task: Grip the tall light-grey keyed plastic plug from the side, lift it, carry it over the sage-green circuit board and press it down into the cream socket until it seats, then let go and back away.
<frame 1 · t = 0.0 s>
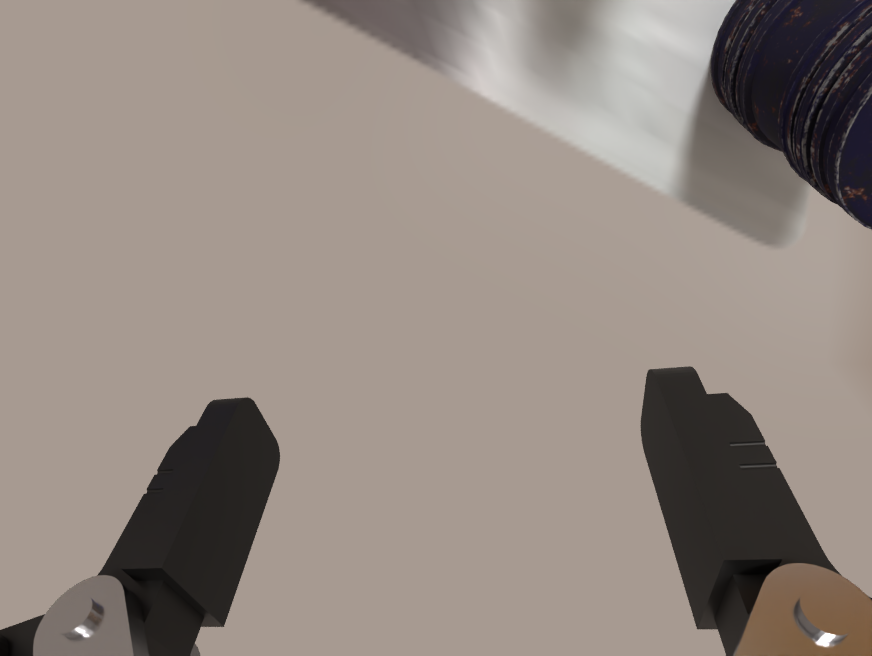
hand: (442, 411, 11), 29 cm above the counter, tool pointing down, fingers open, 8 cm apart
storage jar: (794, 41, 31), on the counter
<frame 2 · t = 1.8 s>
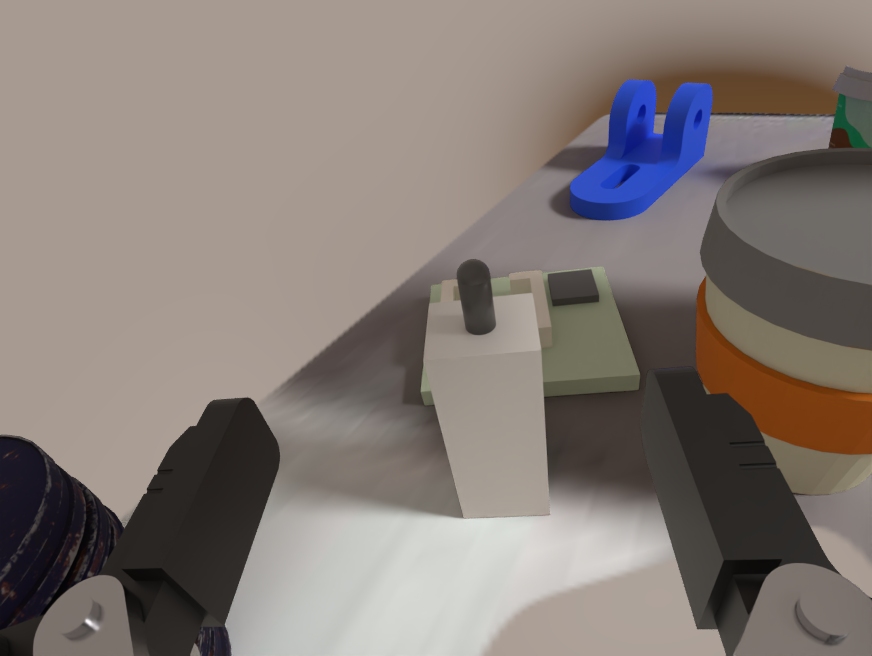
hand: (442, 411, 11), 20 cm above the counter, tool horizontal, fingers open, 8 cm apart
bracket: (631, 185, 58), on the counter
plug: (504, 486, 32), on the counter
board: (521, 337, 42), on the counter
reusable coffee cup: (782, 431, 31), on the counter
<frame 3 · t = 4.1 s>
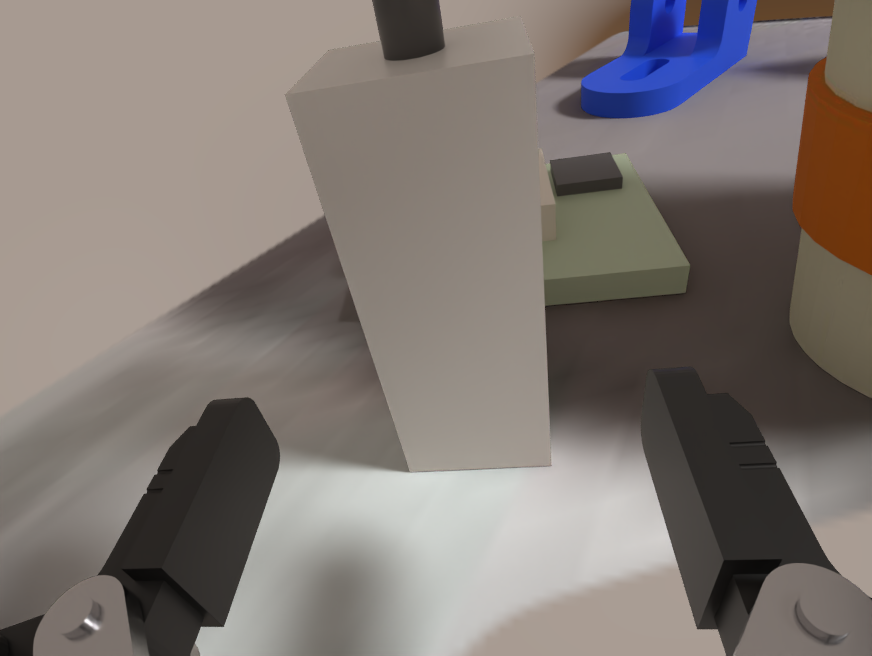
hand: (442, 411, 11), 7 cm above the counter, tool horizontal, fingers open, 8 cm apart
bracket: (657, 87, 47), on the counter
plug: (479, 424, 20), on the counter
board: (513, 239, 30), on the counter
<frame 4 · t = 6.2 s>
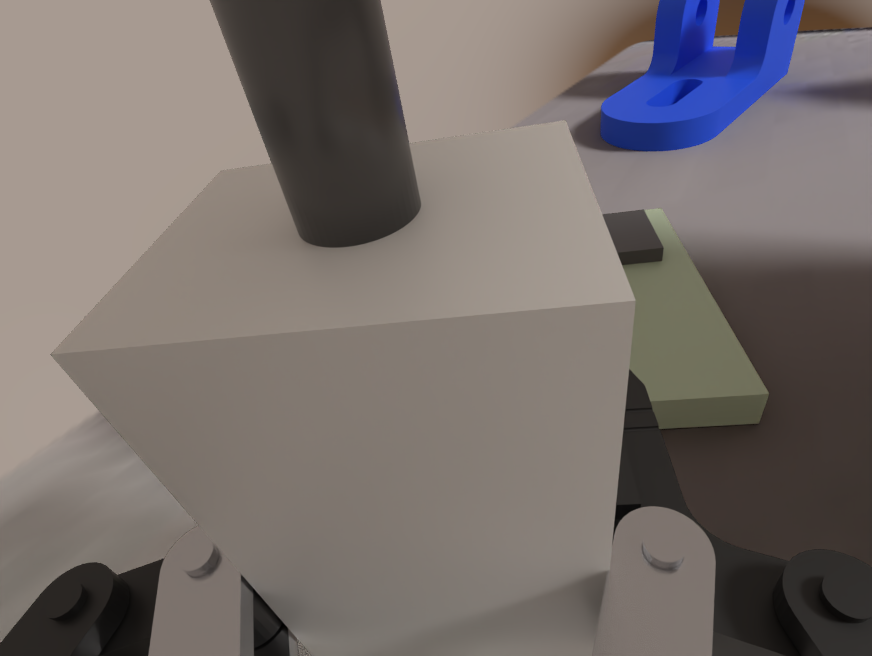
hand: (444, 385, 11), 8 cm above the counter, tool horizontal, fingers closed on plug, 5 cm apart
bracket: (687, 110, 41), on the counter
plug: (484, 648, 14), on the counter, touching gripper
board: (525, 323, 24), on the counter
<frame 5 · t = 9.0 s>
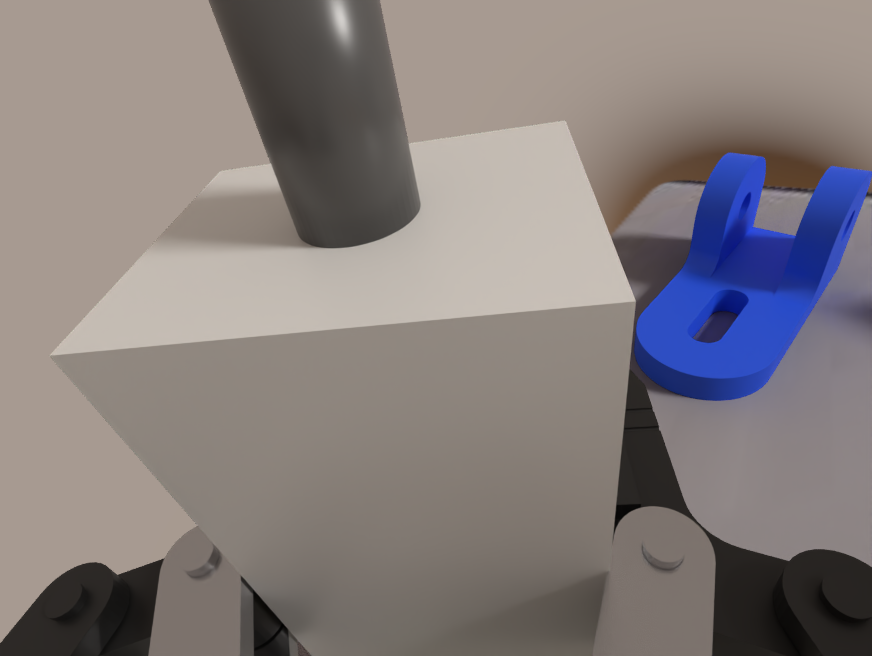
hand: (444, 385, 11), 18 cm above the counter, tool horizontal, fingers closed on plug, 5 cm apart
bracket: (729, 318, 37), on the counter
plug: (484, 648, 14), point 10 cm above the counter, touching gripper
when the fingers open (9 cm above the counter, at t = 11.8 s): plug stays where it is, resting on board.
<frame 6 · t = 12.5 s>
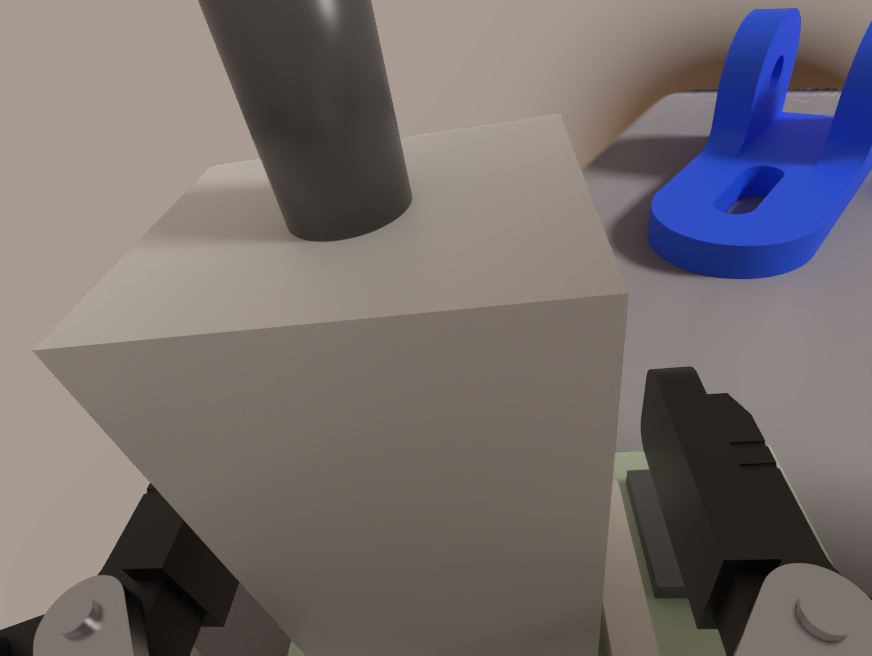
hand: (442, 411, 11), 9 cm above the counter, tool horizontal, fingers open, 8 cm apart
bracket: (758, 204, 32), on the counter
plug: (481, 648, 14), point 1 cm above the counter, touching board
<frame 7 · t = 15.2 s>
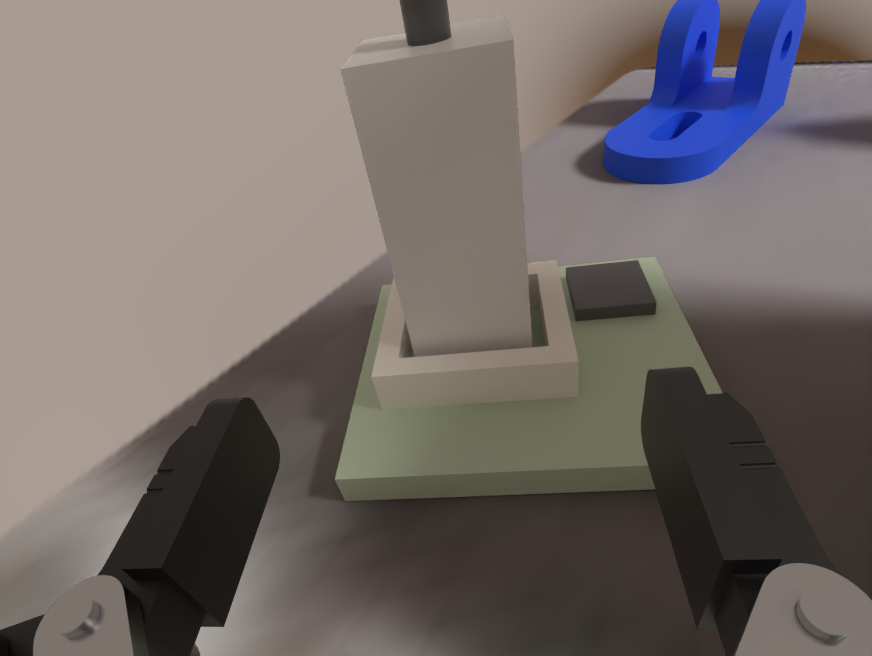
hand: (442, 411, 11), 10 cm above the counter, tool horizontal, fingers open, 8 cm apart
bracket: (687, 141, 42), on the counter
plug: (476, 347, 24), point 1 cm above the counter, touching board
board: (522, 373, 25), on the counter
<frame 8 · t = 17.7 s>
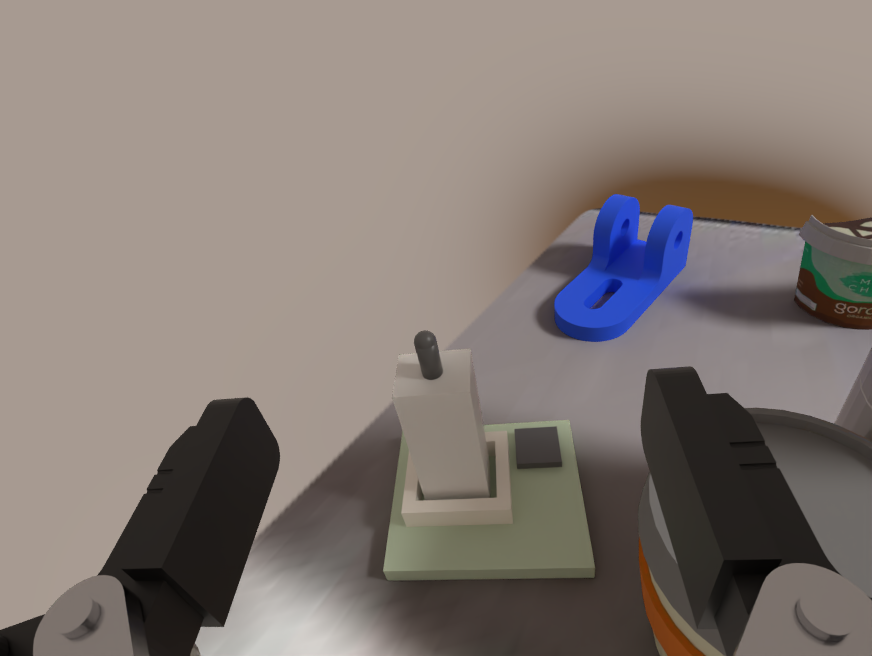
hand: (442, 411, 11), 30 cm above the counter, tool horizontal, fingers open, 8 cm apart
bracket: (614, 296, 60), on the counter
plug: (459, 484, 42), point 1 cm above the counter, touching board
food container: (858, 318, 51), on the counter
board: (486, 498, 42), on the counter
reusable coffee cup: (729, 642, 32), on the counter
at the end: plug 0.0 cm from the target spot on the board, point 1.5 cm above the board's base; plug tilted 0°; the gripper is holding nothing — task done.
